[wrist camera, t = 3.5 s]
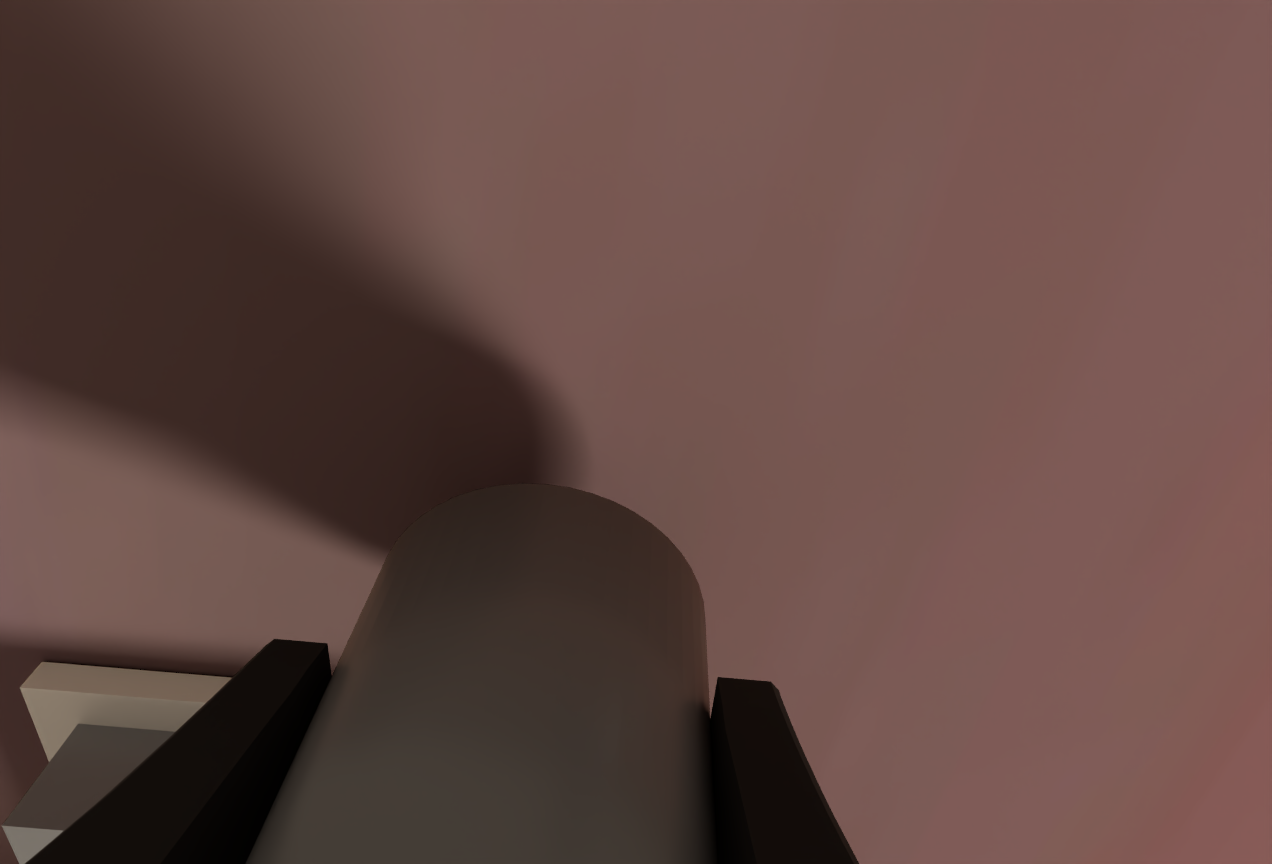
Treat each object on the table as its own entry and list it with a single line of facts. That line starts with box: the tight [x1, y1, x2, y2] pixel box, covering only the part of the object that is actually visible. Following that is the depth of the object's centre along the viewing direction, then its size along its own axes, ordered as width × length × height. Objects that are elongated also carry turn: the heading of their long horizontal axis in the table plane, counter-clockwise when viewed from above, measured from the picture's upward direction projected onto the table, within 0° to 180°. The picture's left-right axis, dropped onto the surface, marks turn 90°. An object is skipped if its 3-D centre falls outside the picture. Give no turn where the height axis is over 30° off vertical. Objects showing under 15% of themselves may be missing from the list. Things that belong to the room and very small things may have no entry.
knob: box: [246, 483, 717, 864], centre depth 9 cm, size 4×4×6 cm
